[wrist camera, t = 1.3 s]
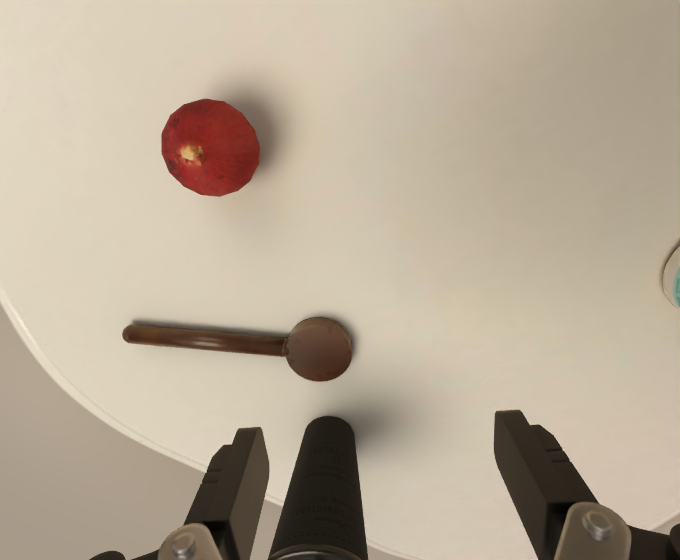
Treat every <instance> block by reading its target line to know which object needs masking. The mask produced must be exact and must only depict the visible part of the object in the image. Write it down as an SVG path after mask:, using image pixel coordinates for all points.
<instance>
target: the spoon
mask: <svg viewBox="0 0 680 560" xmlns="http://www.w3.org/2000/svg"><path fill="white" fill-rule="evenodd" d="M122 336H123V339H124V340H125V341H126V342H128V343H132V344H144V345H155V346H166V347H178V348H189V349H200V350H212V351H223V352H234V353H246V354H257V355H268V356H280V357H286V358H287V361H288V363H289V365H290V367H291V368H292V369H293V370H294V372H296V373H297V374H298V375H300V376H301V377H303V378H305V379H308V380H312V381H329V380H332V379H335V378H337V377H338V376H340V375H341V374H343V373H344V372H345V371H346V369H347V368H348V367H349V365H350V362H351V358H352V341H351V338H350V335H349V333H348V332H347V330H346V329H345V328H344V327H343V326H342V325H340V324H339V323H338V322H336V321H334V320H331V319H328V318H323V317H315V318H309V319H306V320H304V321H302V322H300V323H299V324H297V325H296V326H295V327H294V328H293V330H292V331H291V333H290V335H289V338H281V337H269V336H258V335H247V334H235V333H224V332H212V331H201V330H190V329H178V328H167V327H156V326H144V325H129V326H127V327H126V328H125V329H124V330H123V333H122Z"/></svg>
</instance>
